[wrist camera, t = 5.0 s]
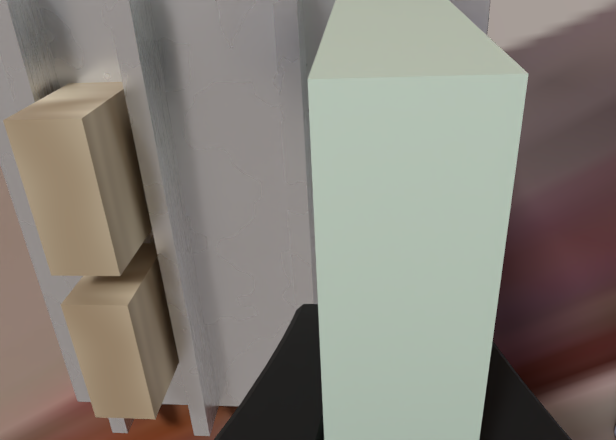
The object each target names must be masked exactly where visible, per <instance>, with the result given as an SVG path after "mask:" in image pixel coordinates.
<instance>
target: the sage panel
mask: <svg viewBox="0 0 616 440" xmlns="http://www.w3.org/2000/svg"><path fill="white" fill-rule="evenodd" d="M527 81H528V73H527V72H526V71H525V70H524V69H523V68H522V67H520V66H519V65H518V64H517V63H516V62H515V61H514V60H513V59H512V58H511V57H510V56H509V55H508V54H506V53H505V52H504V51H503V50H502V49H501V48H500V47H499V46H498V45H497V44H496V43H495V42H494V41H492V40H491V39H490V38H489V37H488V36H487V35H486V34H485V33H484V32H483V31H482V30H481V29H480V28H478V27H477V26H476V25H475V24H474V23H473V22H472V21H471V20H470V19H469V18H468V17H467V16H465V15H464V14H463V13H462V12H461V11H460V10H459V9H458V8H457V7H456V6H455V5H454V4H453V3H451V2H450V1H449V0H335V3H334V6H333V9H332V12H331V15H330V17H329V20H328V23H327V26H326V29H325V31H324V34H323V37H322V40H321V43H320V46H319V48H318V51H317V54H316V57H315V60H314V63H313V65H312V68H311V71H310V74H309V77H308V99H309V120H310V142H311V164H312V186H313V207H314V229H315V251H316V272H317V294H318V316H319V338H320V359H321V381H322V403H323V425H324V440H479V439H480V431H481V424H482V416H483V409H484V401H485V394H486V386H487V379H488V371H489V364H490V357H491V349H492V342H493V334H494V327H495V319H496V312H497V304H498V297H499V289H500V282H501V275H502V267H503V260H504V252H505V245H506V237H507V230H508V222H509V215H510V207H511V200H512V192H513V185H514V178H515V170H516V163H517V155H518V148H519V140H520V133H521V125H522V118H523V110H524V103H525V96H526V88H527Z"/></svg>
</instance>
